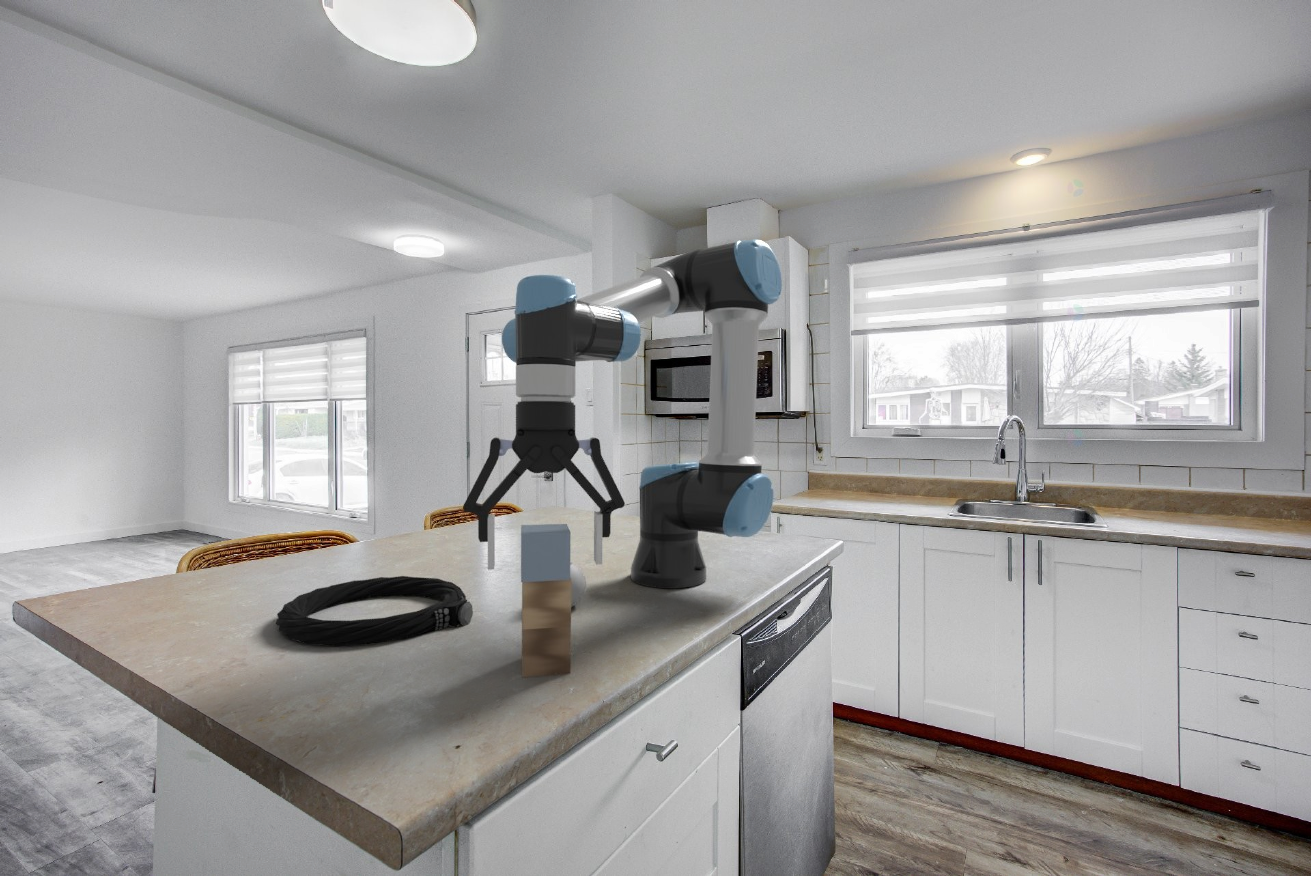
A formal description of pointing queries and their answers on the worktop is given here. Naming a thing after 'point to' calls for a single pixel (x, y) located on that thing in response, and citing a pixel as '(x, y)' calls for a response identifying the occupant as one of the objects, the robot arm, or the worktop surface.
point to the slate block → (545, 552)
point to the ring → (378, 629)
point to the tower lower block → (546, 651)
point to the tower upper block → (546, 604)
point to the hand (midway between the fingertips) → (545, 564)
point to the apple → (576, 583)
